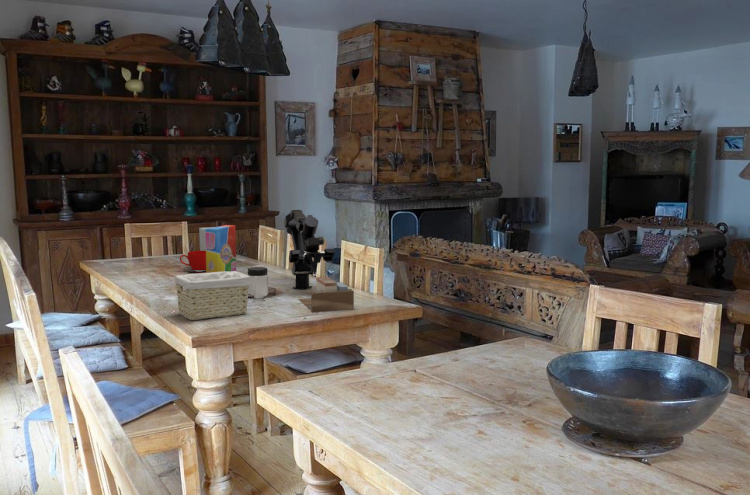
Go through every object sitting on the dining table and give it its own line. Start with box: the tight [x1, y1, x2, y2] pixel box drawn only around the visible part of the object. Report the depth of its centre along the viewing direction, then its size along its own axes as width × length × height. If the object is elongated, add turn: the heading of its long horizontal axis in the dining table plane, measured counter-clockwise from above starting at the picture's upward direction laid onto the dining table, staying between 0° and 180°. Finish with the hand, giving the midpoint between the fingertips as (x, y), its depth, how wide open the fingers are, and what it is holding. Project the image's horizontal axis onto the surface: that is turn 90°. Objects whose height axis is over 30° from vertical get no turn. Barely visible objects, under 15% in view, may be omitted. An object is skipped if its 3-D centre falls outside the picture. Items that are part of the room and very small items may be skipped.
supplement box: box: [198, 226, 215, 251], centre depth 390 cm, size 13×13×18 cm
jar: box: [247, 266, 269, 300], centre depth 277 cm, size 9×8×12 cm
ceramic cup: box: [179, 250, 206, 271], centre depth 340 cm, size 13×17×10 cm
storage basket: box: [174, 270, 250, 321], centre depth 245 cm, size 24×16×15 cm
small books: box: [336, 281, 353, 291], centre depth 256 cm, size 10×5×8 cm, turn 19°
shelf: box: [297, 289, 355, 313], centre depth 259 cm, size 25×16×8 cm, turn 19°
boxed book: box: [315, 276, 337, 292], centre depth 257 cm, size 14×4×10 cm, turn 19°
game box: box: [205, 224, 237, 273], centre depth 299 cm, size 21×6×27 cm, turn 168°
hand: (315, 271), depth 273 cm, fingers closed
